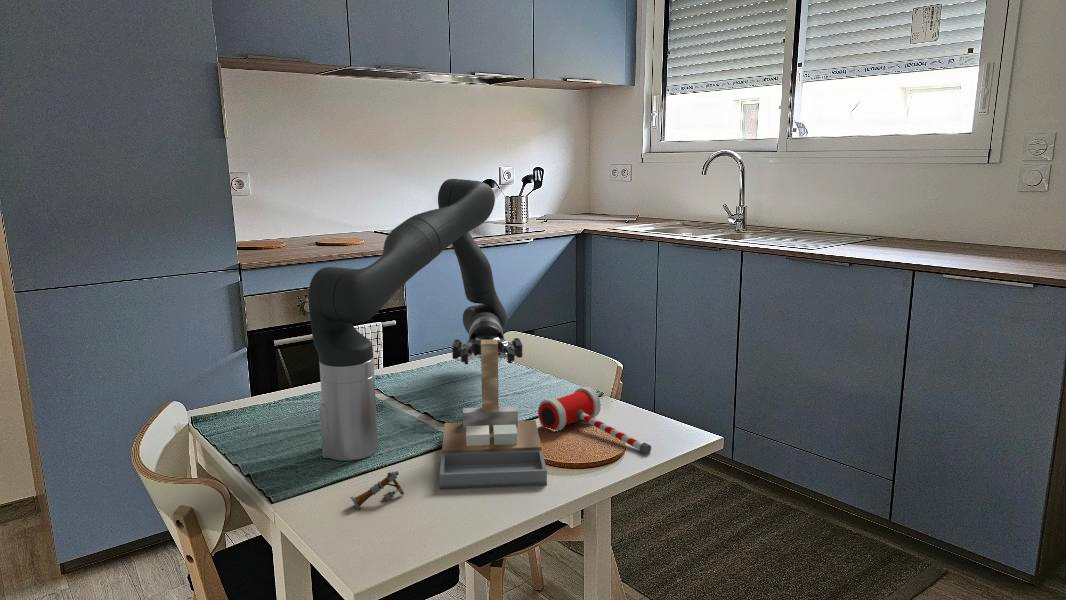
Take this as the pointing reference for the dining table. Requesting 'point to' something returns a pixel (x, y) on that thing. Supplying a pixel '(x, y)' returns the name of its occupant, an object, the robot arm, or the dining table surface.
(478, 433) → the tile
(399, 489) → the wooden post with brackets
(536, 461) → the tray
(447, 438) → the board
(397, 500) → the dining table surface
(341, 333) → the robot arm
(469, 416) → the scraper
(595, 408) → the toy hammer
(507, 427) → the tile
